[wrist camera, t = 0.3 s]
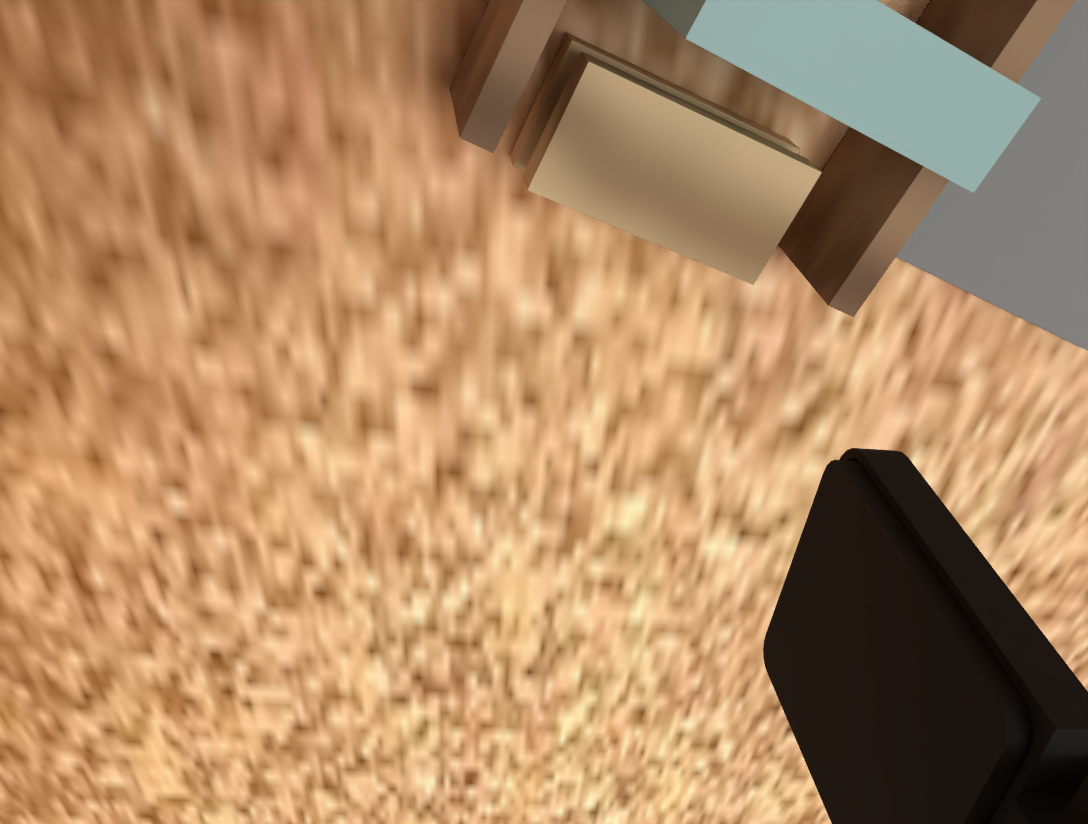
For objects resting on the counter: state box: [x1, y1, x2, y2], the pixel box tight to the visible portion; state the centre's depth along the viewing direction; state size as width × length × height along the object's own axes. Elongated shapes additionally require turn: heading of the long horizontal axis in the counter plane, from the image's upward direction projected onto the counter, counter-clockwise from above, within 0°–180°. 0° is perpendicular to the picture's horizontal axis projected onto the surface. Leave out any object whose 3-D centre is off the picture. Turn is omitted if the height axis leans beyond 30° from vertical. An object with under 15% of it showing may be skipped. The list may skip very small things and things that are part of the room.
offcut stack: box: [510, 33, 822, 285], centre depth 39 cm, size 5×10×4 cm, turn 64°
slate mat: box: [896, 0, 1088, 350], centre depth 43 cm, size 12×13×1 cm
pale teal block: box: [643, 0, 1041, 193], centre depth 32 cm, size 3×10×12 cm, turn 63°
